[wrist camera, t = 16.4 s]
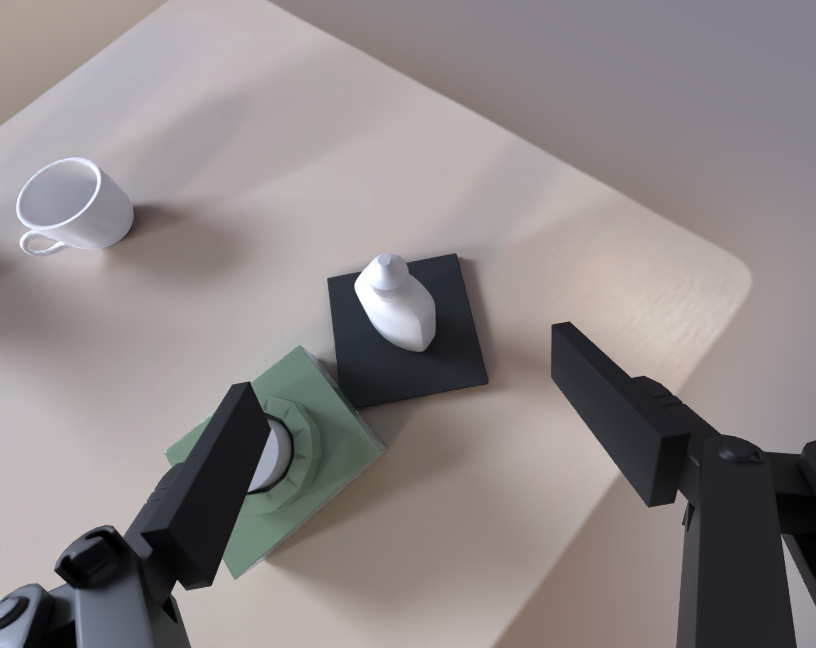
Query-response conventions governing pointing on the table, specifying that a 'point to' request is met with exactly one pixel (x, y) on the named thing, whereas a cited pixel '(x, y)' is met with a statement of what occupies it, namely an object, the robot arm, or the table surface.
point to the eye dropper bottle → (397, 303)
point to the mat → (399, 368)
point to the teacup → (73, 207)
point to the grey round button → (273, 457)
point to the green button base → (296, 456)
